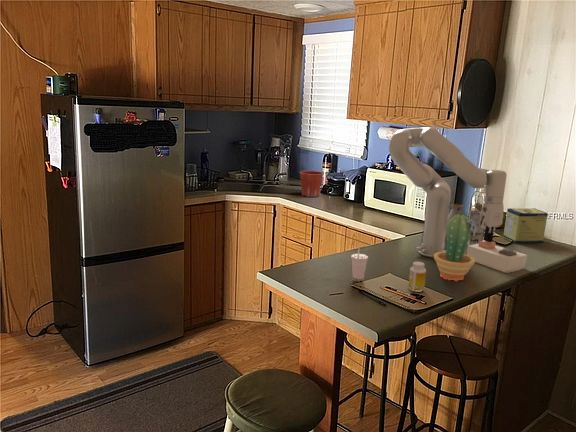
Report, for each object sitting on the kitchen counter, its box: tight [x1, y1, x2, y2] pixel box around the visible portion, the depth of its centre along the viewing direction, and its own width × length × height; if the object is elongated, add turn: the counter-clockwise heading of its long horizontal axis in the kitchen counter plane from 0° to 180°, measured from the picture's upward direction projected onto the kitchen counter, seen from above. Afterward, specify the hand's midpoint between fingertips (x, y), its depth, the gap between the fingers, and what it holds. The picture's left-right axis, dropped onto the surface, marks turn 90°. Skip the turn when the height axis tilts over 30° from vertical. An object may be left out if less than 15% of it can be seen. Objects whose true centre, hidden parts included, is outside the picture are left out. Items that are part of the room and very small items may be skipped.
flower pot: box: [299, 170, 324, 198], centre depth 334 cm, size 16×16×16 cm
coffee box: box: [466, 210, 485, 247], centre depth 232 cm, size 9×6×16 cm
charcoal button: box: [499, 247, 518, 256], centre depth 203 cm, size 5×5×6 cm
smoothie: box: [350, 244, 369, 279], centre depth 182 cm, size 6×6×14 cm
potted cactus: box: [433, 214, 477, 282], centre depth 188 cm, size 15×15×25 cm
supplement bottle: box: [408, 261, 427, 291], centre depth 175 cm, size 6×6×10 cm
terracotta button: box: [479, 239, 497, 250], centre depth 211 cm, size 5×5×6 cm
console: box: [466, 244, 528, 274], centre depth 208 cm, size 12×20×6 cm, turn 32°
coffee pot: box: [447, 203, 464, 223], centre depth 257 cm, size 21×12×15 cm, turn 164°
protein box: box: [503, 207, 549, 244], centre depth 243 cm, size 10×16×16 cm
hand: (487, 241), depth 210 cm, fingers closed
